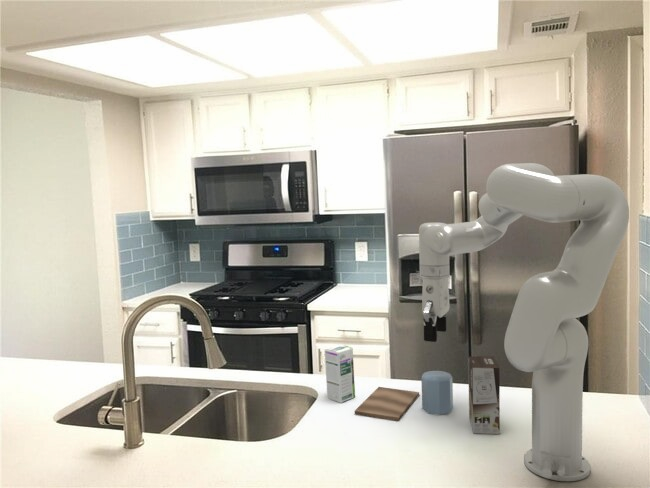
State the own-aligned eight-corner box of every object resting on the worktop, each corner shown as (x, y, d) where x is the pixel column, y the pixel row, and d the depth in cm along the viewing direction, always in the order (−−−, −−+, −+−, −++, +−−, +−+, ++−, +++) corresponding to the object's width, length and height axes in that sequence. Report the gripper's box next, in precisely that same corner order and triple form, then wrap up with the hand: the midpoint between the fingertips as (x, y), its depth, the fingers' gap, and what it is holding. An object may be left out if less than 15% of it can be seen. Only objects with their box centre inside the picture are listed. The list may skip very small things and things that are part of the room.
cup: (448, 416, 139) (447, 382, 138) (419, 412, 142) (418, 378, 141) (454, 405, 146) (454, 372, 145) (427, 401, 149) (426, 369, 148)
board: (398, 421, 137) (398, 417, 137) (354, 414, 143) (354, 410, 143) (419, 395, 153) (419, 392, 153) (378, 390, 159) (378, 386, 159)
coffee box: (500, 434, 128) (500, 367, 126) (472, 433, 129) (471, 367, 127) (495, 418, 137) (494, 355, 135) (468, 417, 138) (467, 355, 136)
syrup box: (341, 403, 150) (338, 352, 149) (326, 398, 154) (324, 348, 153) (355, 397, 154) (353, 347, 152) (340, 392, 158) (338, 343, 157)
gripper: (440, 277, 131) (441, 347, 133) (456, 266, 146) (457, 328, 148) (410, 276, 134) (411, 343, 136) (429, 265, 150) (430, 326, 152)
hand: (435, 335), depth 142 cm, fingers open, 9 cm apart
